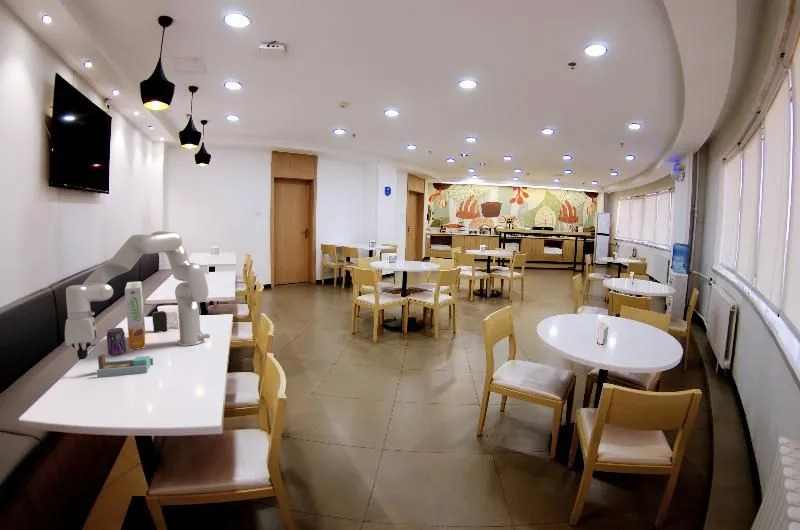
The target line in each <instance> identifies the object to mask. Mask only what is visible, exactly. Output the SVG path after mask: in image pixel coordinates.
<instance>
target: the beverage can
mask: <svg viewBox="0 0 800 530" xmlns="http://www.w3.org/2000/svg"><path fill="white" fill-rule="evenodd" d="M106 331H107V332H106V343H107V355H109V356H112V357H116V356H117V355H118V356H121V354H122V355H123V354H125V353H127V348H126V347H127V345H126V336H125V335H126V334H125V331H124V329H123V327H114V328H113V327H112V328H110V329H108V330H106ZM118 356H117V357H118Z"/></svg>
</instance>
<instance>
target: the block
mask: <svg viewBox="0 0 800 530" xmlns="http://www.w3.org/2000/svg"><path fill="white" fill-rule="evenodd" d="M150 358H151V357H150V355H143V356H142V355H141V356H136V357H135V358H134V360H133V359H132V360H133V366H142V365H147V371H149V370H150V368H151V367H150V366H152V365H150Z"/></svg>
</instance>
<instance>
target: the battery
mask: <svg viewBox="0 0 800 530" xmlns="http://www.w3.org/2000/svg"><path fill="white" fill-rule="evenodd" d="M164 311H165V310H160V311H157V310H156V311H154V312H152V315H151V316H152V317H151V318H152V326H153V332H154V333H160V332H159V331H163V332H167V331H168V315H167V312H166V311H165V312H164Z"/></svg>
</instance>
